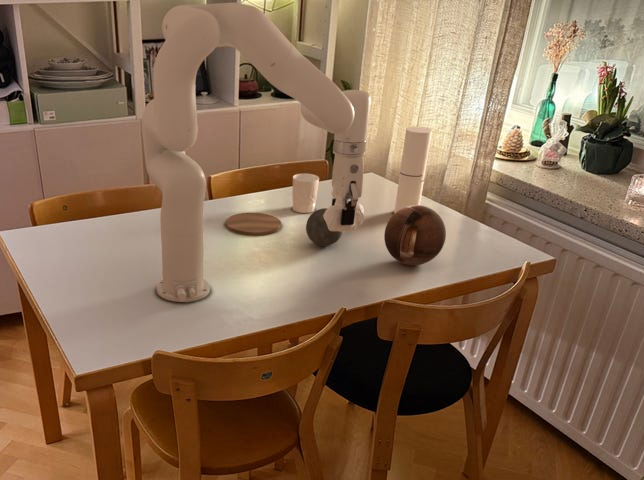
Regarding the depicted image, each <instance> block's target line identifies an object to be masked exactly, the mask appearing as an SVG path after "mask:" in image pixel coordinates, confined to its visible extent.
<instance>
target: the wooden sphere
mask: <svg viewBox="0 0 644 480" xmlns="http://www.w3.org/2000/svg"><path fill="white" fill-rule="evenodd" d="M446 236H447V231H446V225H445V223H444V220H443V218H442V217H441V216H440V215H439V213H438V212H437V211H435V210H434V209H432V208H430V207H428V206H425V205H421V204H420V205H412V206H408V207H405V208H402V209H401V210H399V211H397V212H396V213H395V214H394V213H393V214H392V216H391V217H390V219H389V220H388V222H387V224H386V226H385V229H384V236H383V237H384V244H385V247H386V250H387V252H388V253H389V254H390V255H391V257H392V258H393V259H394V260H396V261H397V262H399V263H401V264H404V265H406V266H420V265H424V264H428V263H429V262H431V261H432V260H433V259H435V258H436V257H437V256H438V255H439V254H440V253H441V251H442V249H443V247H444V245H445V243H446Z"/></svg>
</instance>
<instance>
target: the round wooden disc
mask: <svg viewBox="0 0 644 480" xmlns="http://www.w3.org/2000/svg"><path fill="white" fill-rule="evenodd" d="M225 228H226V229H227V230H228V231H230V232H232V233H235V234H239V235H243V236H255V237H256V236H267V235H271V234H274V233H277V232H278V231H279V230H281V228H282V221H281V219H279V218H278V217H277V216H274V215H272V214H268V213H264V212H241V213H240V212H239V213H236V214H233V215H230V216H229V217H227V219H226V220H225Z"/></svg>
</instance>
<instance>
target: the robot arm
mask: <svg viewBox="0 0 644 480" xmlns="http://www.w3.org/2000/svg"><path fill="white" fill-rule="evenodd" d="M161 32H162V35H163V39H164V42H163V43H162V45H161V47H160V49H159V50H158V53H157V55H156V57H155V60H154V63H153V71H152V80H153V81H152V85H153V99H151V100H150V101H149V102H148V103H147V104H146V105H145V108H144V110H143V112H142V116H141V134H142V143H143V152H144V161H145V169H146V173H147V176H148V178H149V180H150V181H151V182H152V184H153V185H154V186H155V187H156V188H157V189H158V190H160V192H161V195H162V200H161V207H160V219H159V220H160V241H161V242H160V243H161V264H162V265H161V266H162V267H161V268H162V280H160V281H159V282H158V283H157V285H156V293H157V295H158V296H159V297H161V298H162V299H164V300H166V301H169V302H175V303H191V302H196V301H199V300H202V299H204V298H206V297H207V296H208V295H209V294H210V292H211V285H210V283H209V282H208V281H207V280H206V279H204V206H205V199H206V194H207V193H206V192H207V179H206V175H205V172H204V171H203V170H204V169H202V167H201V166H200V165H199V164H198V162H196V161H195V160H194V159H193V158H191V157H190V156H189V155H187V154H186V151H187V152H188V151H189V150H191V148H192V147H193V146H194V145H195V144H196V142H197V139H198V133H199V123H198V112H197V111H198V109H197V96H196V80H197V73H198V71H199V69H200V66H201V65H202V63H203V62H204V61H205V59H206V58H207V57H208V56H209V55H210V54H212V53H213V52H214V50H215V49H216V48H222V47H230V48H233V49H236V51H238V52H239V53H240V54H241V55H242V56H243V57H244V59H246V60H247V62H249V63H250V64H251V65H252V66H253V67H254V68H255V69H256V70H257V71H258V72H259V73H260V75H262V76H263V77H264V79H266V81H267V82H268V83H269V84H270V85H272V86H273V87H274V88H276V90H279V91H280V92H282V93H283V94H286V96H289V97H291V98H292V99H294V100H295V101H297V102H298V103H300V104H301V105H300V113H301V115H302V117H303V119H304V120H305V121H306V122H307V123H309V124H310V125H312V126H314V127H317V128H319V129H322V130H324V131H326V132H328V133H330V134H334V136H333V146H332V154H334V159H333V165H332V173H331V187H332V189H333V188H335V190H336V191H337V193H338V194H339V195H340V196H341V197H342V198H343V208H344V209H342V213H341V223H340V224H341V225H353V224H354V216H355V210H356V205H357V203H358V202H359V198H361V197H362V195H363V187H364V186H363V185H364V168H365V167H364V156H365V155H366V147H367V138H368V131H369V121H370V113H371V112H370V111H371V104H372V96H371V94H370V93H369V92H367V91H366V90H361V89H346V90H341V89H340V88H339V86H338V85H337V84H336V83H335V82H334V81H333V80H332V79H331V78H330V77H329V76H327V75H326V74H325V73H324V72H323V71H321V70H320V69H319V68H318V67H316V65H315V64H313V63H312V61H311V60H309V59H308V58H307V57H306V56H304V55H303V54H302V53H301V52H300V51H299V50H298V48H297V47H295V46H294V45H293V43H292V42H290V40H289V39H288V38H287V37H286V36H285V35H284V34H283V33H282V32H281V31H280V29H279V28H278V27H277V26H276V25H275V24H274V22H272V20H271V19H270V18H269V16H267V14H265V13H264V12H263V11H262V10H261V9H260V8H258V7H256V6H254V5H251V4H245V3H241V2H221V3H203V4H201V3H198V4H180V5H176V6H174V7H172V8H171V9H170V10H168V11H167V13H166V14H165V16H164V17H163V19H162V24H161ZM346 194H351V196H346ZM347 199H349V202H348V203H347ZM335 202H336V198H335V199H332V198H331V206H333V205H335Z"/></svg>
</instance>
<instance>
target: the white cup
mask: <svg viewBox="0 0 644 480" xmlns="http://www.w3.org/2000/svg"><path fill="white" fill-rule="evenodd" d="M319 182H320V177H319V176H318V175H317V174H314V173H313V174H312V173H296V174H294V175H292V194H291V195H292V210H293V211H294V212H296V213H299V214H300V213H301V214H309V213H313V212H315V209H316V202H317V198H318V189H319Z"/></svg>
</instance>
